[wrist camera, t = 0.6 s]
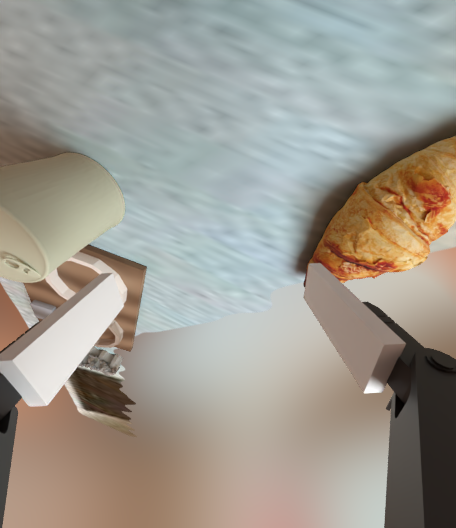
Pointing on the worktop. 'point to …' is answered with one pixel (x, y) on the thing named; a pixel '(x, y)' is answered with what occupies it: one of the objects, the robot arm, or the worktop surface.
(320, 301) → the robot arm
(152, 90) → the worktop surface
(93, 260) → the ring
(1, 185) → the can
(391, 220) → the croissant
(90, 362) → the egg carton
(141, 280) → the walnut board
